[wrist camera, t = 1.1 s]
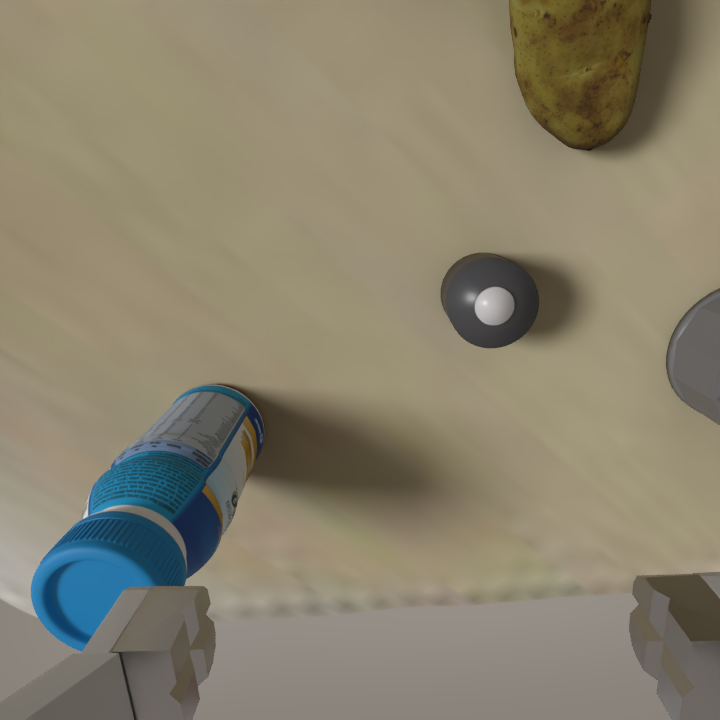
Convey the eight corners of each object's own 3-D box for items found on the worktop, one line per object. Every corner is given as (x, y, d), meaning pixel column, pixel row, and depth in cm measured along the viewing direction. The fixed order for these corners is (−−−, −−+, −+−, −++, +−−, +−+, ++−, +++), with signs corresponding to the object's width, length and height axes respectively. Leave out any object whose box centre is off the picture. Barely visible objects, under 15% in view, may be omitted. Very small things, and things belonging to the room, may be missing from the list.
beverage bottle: (223, 360, 42) (96, 499, 23) (288, 438, 44) (220, 624, 25) (148, 416, 44) (-29, 587, 25) (213, 488, 46) (96, 698, 27)
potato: (487, 155, 37) (515, 145, 29) (497, -63, 33) (534, -141, 25) (606, 152, 36) (666, 141, 29) (631, -68, 33) (709, -149, 25)
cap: (439, 255, 39) (448, 264, 34) (520, 249, 39) (541, 258, 34) (441, 332, 41) (450, 352, 36) (518, 327, 40) (538, 346, 35)
